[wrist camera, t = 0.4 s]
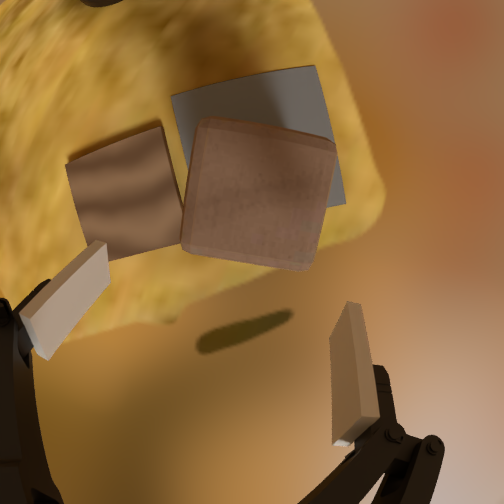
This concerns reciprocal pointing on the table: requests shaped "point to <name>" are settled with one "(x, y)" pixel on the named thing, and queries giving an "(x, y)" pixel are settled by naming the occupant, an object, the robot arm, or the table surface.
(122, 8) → the table surface
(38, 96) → the table surface
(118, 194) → the walnut board
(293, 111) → the gray tile
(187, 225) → the wooden block
